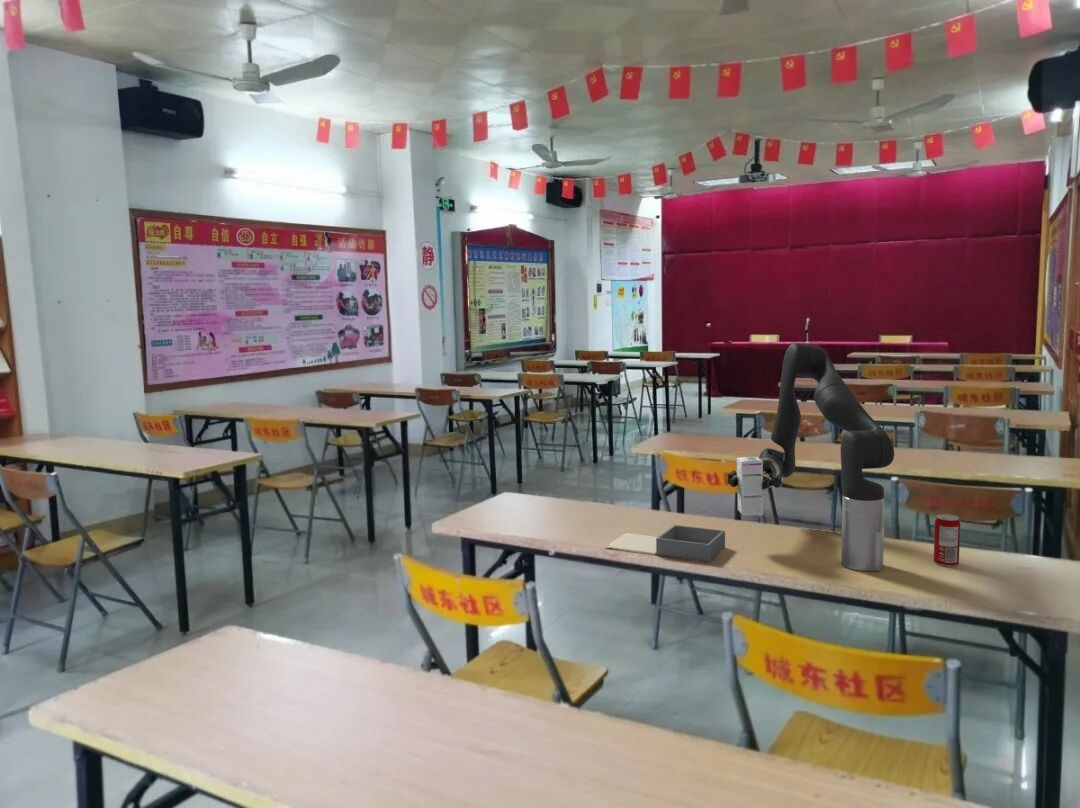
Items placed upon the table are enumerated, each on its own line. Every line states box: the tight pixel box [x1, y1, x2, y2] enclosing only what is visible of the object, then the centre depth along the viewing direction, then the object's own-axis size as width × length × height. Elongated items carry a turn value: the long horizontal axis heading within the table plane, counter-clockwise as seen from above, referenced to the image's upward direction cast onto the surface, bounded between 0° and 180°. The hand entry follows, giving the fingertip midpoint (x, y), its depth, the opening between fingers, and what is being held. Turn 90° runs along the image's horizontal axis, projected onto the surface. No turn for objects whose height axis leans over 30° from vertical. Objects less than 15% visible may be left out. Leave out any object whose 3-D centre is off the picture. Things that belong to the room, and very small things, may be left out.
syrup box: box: [736, 456, 765, 517], centre depth 206 cm, size 6×6×14 cm
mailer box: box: [605, 524, 726, 563], centre depth 210 cm, size 28×14×4 cm, turn 61°
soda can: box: [933, 513, 961, 567], centre depth 191 cm, size 6×6×12 cm
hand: (748, 484), depth 204 cm, fingers closed on syrup box, 7 cm apart
